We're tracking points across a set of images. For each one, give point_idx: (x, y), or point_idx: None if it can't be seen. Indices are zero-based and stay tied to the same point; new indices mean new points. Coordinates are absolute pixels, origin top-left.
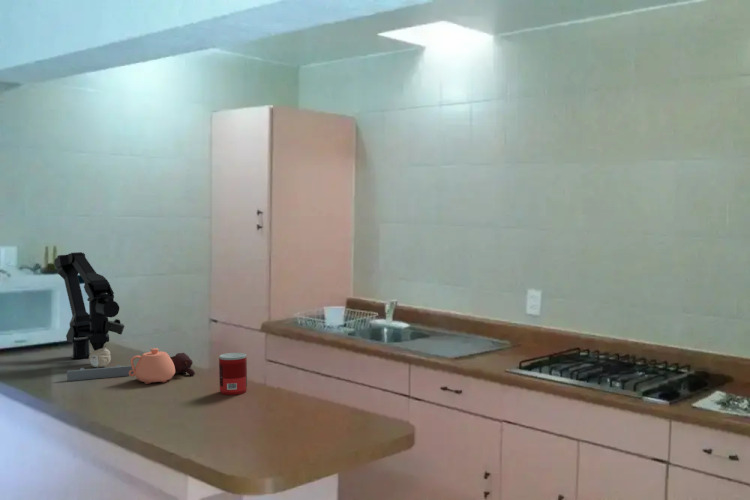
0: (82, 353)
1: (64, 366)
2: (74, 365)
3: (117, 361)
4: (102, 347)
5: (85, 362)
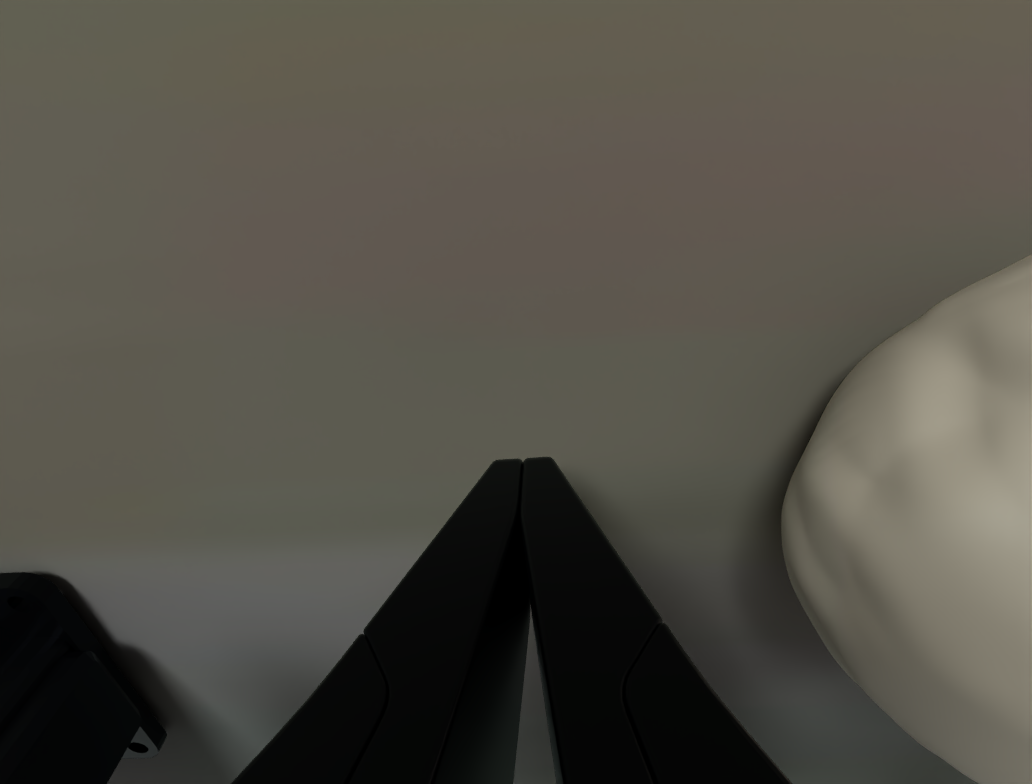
0: (72, 738)
1: None
2: None
3: (440, 12)
4: (729, 738)
5: None
